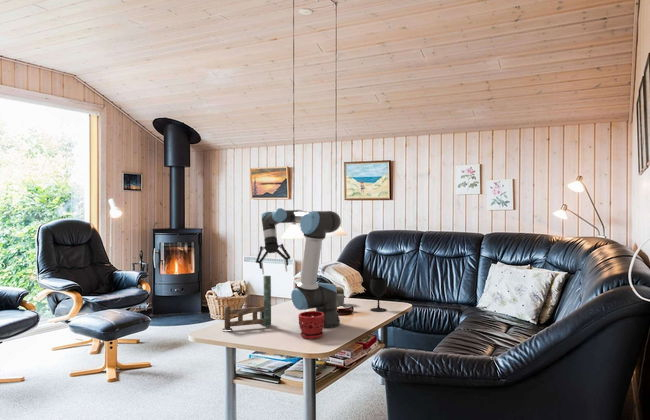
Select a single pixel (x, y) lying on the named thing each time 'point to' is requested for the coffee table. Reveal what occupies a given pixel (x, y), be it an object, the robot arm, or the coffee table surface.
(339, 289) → the shell
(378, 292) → the wine glass
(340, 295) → the digital clock
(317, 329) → the plant pot
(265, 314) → the gate
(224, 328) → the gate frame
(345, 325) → the coffee table surface
